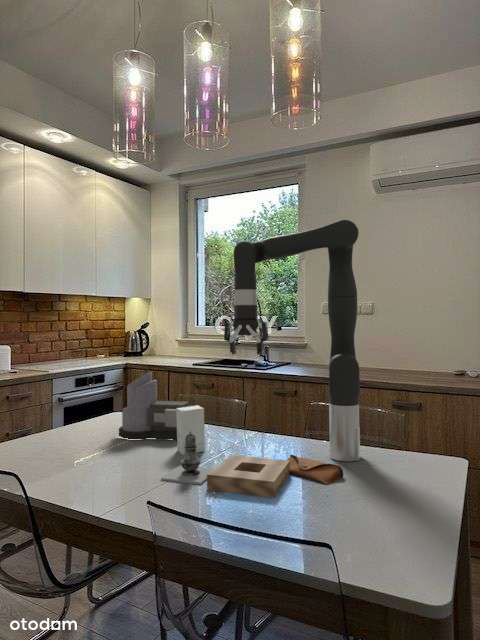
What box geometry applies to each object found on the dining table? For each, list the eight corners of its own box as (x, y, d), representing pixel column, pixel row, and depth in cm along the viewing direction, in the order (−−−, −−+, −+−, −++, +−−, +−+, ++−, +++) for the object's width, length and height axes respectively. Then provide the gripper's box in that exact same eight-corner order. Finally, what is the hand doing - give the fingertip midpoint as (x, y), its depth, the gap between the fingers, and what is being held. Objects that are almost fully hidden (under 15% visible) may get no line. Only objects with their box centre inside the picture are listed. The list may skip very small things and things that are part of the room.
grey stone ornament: (197, 477, 128) (197, 434, 128) (177, 476, 129) (177, 433, 129) (203, 470, 134) (203, 429, 134) (184, 469, 135) (183, 428, 135)
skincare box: (199, 447, 160) (198, 404, 160) (205, 452, 155) (205, 407, 155) (176, 450, 156) (175, 407, 156) (181, 455, 151) (181, 410, 151)
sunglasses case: (273, 471, 134) (280, 449, 136) (285, 478, 138) (292, 456, 141) (328, 485, 122) (335, 460, 125) (339, 492, 127) (345, 468, 129)
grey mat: (217, 470, 135) (217, 468, 135) (201, 484, 124) (201, 482, 124) (180, 466, 139) (180, 464, 139) (161, 480, 128) (161, 477, 128)
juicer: (108, 439, 172) (107, 374, 172) (126, 429, 188) (125, 369, 188) (185, 442, 167) (184, 375, 167) (197, 432, 182) (196, 370, 182)
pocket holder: (290, 474, 131) (289, 460, 131) (274, 497, 114) (273, 481, 114) (230, 468, 137) (230, 455, 137) (206, 489, 120) (206, 474, 120)
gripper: (270, 304, 150) (270, 353, 150) (228, 305, 155) (229, 353, 155) (263, 303, 143) (264, 355, 143) (220, 304, 148) (221, 354, 148)
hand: (246, 354), depth 149 cm, fingers open, 8 cm apart
